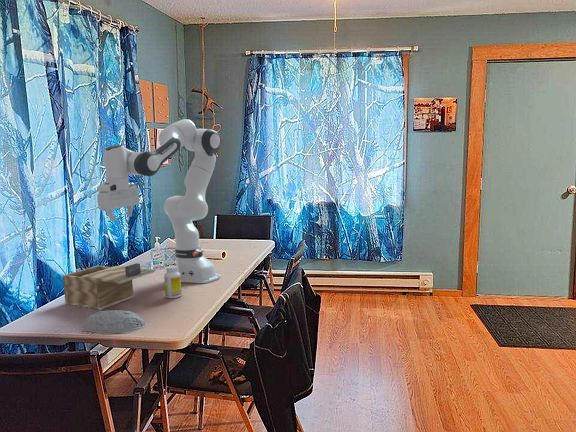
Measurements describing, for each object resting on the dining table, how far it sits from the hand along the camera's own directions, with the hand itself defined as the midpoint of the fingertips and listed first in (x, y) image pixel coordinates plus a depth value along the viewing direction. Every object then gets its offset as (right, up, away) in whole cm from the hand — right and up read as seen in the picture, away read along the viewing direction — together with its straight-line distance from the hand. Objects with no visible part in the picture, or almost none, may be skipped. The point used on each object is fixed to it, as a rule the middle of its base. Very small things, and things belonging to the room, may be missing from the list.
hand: (121, 218), depth 221 cm
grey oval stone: (+7, -39, -30) cm, 50 cm away
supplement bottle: (+21, -33, +4) cm, 39 cm away
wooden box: (-9, -34, +1) cm, 35 cm away
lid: (+1, -23, -6) cm, 24 cm away
